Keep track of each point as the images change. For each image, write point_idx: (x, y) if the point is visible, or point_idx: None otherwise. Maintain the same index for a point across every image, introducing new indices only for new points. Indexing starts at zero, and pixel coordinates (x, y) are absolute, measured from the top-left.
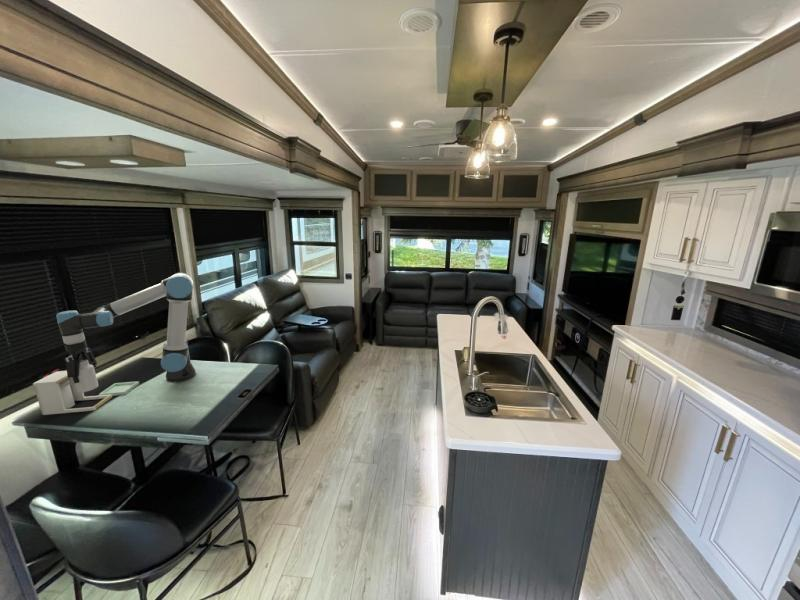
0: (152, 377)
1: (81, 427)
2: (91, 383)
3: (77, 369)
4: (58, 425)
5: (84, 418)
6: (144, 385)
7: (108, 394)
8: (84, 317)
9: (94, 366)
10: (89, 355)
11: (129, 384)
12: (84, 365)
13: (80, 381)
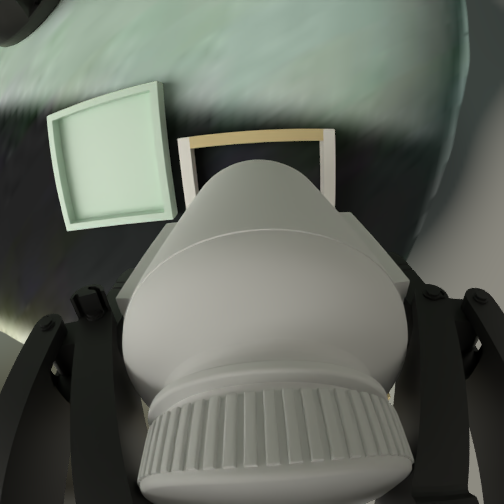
0: (11, 115)
1: (457, 98)
2: (298, 175)
3: (457, 362)
4: (428, 203)
5: (399, 127)
6: (72, 73)
7: (168, 168)
8: None
9: (97, 301)
10: (26, 489)
11: (63, 156)
12: (337, 388)
13: (377, 245)
